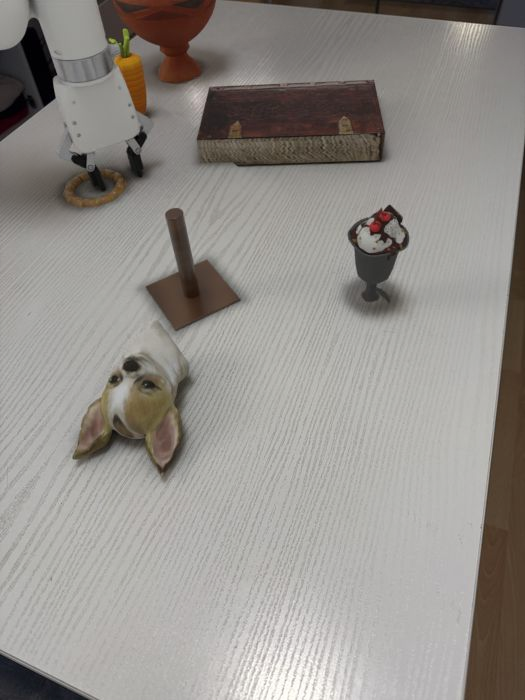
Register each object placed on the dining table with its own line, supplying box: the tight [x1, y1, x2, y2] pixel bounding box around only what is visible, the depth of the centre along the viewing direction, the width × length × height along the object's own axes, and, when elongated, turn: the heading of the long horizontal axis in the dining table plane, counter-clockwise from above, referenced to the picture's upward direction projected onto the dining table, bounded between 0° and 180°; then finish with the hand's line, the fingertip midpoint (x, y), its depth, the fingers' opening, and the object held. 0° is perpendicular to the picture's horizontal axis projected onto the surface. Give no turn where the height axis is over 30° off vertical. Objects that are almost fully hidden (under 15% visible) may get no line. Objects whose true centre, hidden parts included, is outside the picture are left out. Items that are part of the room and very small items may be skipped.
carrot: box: [108, 28, 148, 115], centre depth 94 cm, size 5×5×15 cm
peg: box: [145, 207, 241, 332], centre depth 64 cm, size 9×9×13 cm
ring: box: [62, 168, 127, 208], centre depth 85 cm, size 10×10×2 cm
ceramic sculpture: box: [71, 320, 190, 476], centre depth 55 cm, size 11×9×15 cm
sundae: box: [347, 204, 410, 304], centre depth 61 cm, size 7×7×15 cm
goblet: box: [112, 0, 217, 84], centre depth 101 cm, size 19×19×25 cm
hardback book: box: [196, 79, 386, 166], centre depth 91 cm, size 29×19×5 cm, turn 88°
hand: (119, 180), depth 86 cm, fingers open, 5 cm apart
